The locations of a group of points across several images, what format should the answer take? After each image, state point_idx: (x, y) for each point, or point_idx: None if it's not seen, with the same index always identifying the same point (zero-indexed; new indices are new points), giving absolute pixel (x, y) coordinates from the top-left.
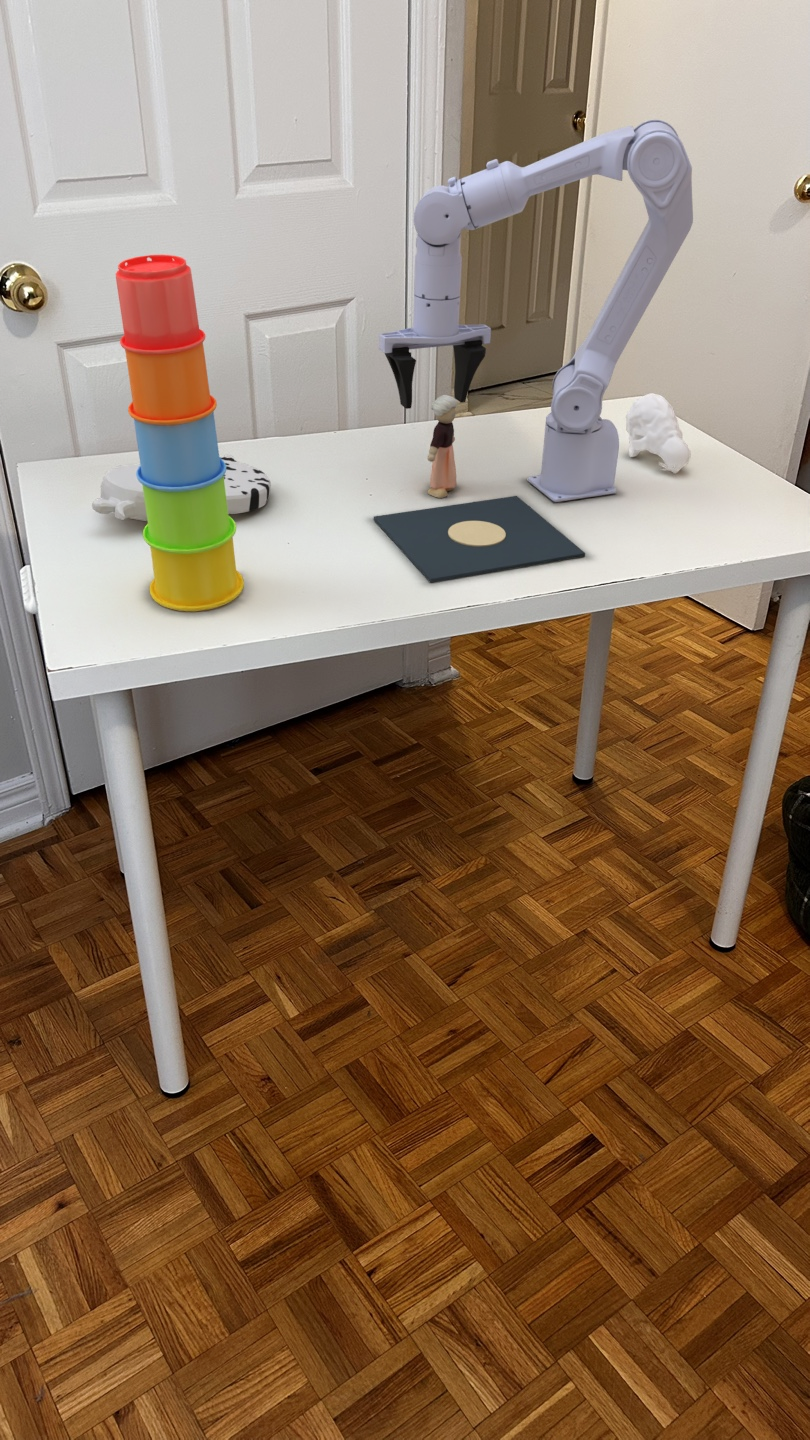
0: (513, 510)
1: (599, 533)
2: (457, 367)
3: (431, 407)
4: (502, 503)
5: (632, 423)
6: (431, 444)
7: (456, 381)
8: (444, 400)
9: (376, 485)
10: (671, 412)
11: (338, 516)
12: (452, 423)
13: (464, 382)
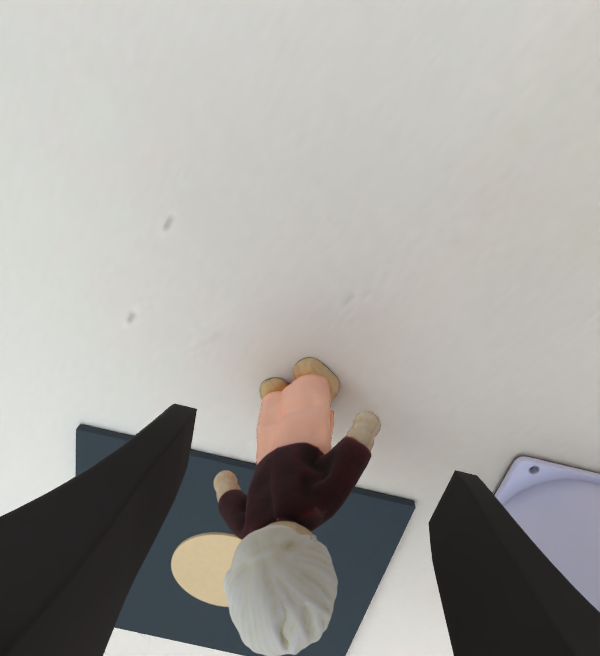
0: (353, 545)
1: (422, 642)
2: (519, 629)
3: (233, 556)
4: (359, 516)
5: None
6: (218, 509)
7: (482, 546)
8: (248, 646)
9: (172, 275)
10: None
11: (14, 371)
12: (332, 516)
13: (450, 636)
